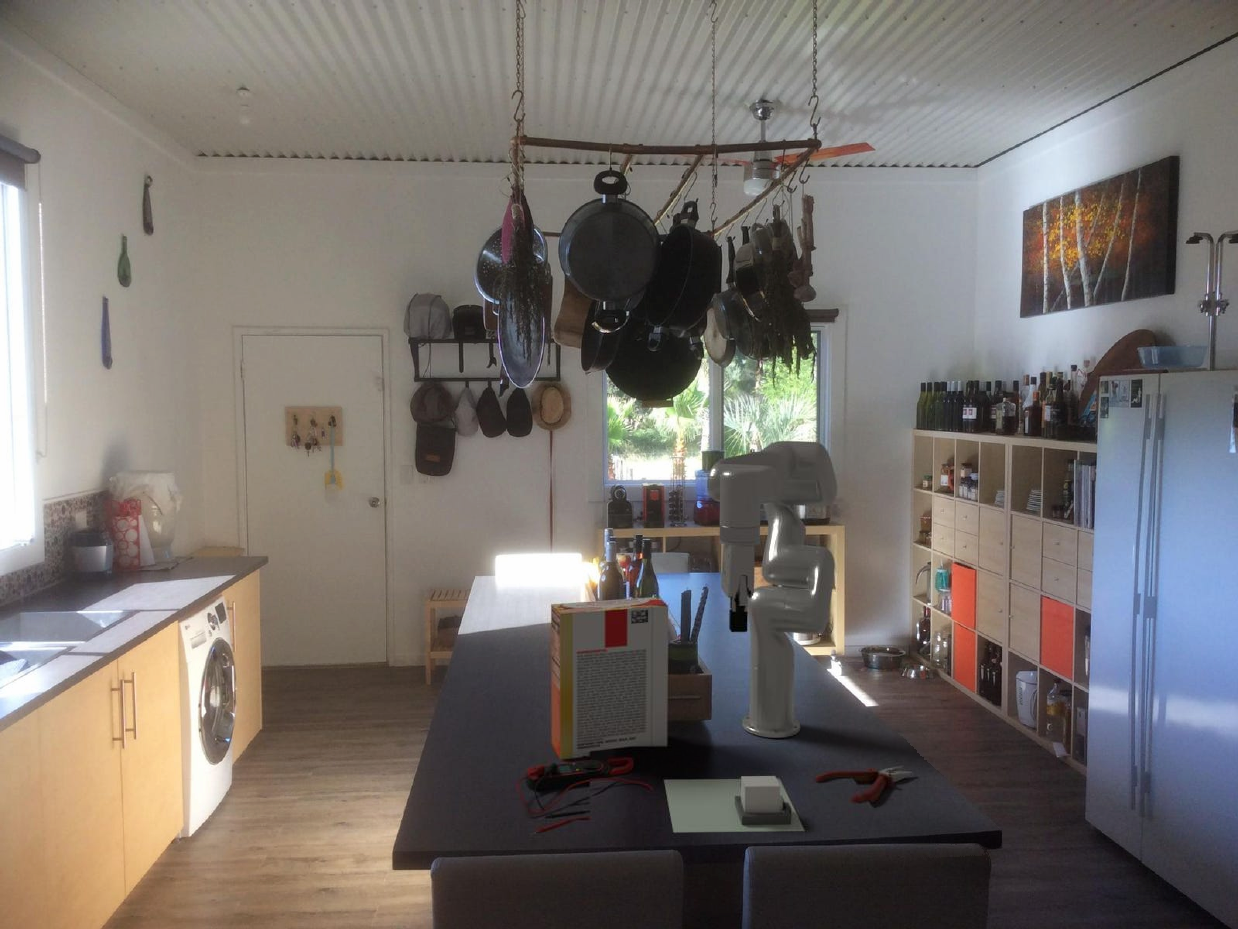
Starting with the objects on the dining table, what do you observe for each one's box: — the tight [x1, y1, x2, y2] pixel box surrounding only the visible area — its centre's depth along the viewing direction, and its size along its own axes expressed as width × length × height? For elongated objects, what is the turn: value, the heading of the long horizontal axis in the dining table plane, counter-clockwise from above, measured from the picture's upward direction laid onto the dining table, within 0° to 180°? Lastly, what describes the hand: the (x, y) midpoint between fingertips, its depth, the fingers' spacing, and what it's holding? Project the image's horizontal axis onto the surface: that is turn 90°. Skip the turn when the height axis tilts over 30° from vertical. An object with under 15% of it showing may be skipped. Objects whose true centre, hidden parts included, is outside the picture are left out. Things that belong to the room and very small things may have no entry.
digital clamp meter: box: [516, 756, 655, 836], centre depth 163 cm, size 23×4×25 cm
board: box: [663, 778, 805, 834], centre depth 158 cm, size 20×22×2 cm
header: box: [735, 796, 791, 825], centre depth 154 cm, size 8×9×2 cm
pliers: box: [814, 765, 916, 805], centre depth 168 cm, size 12×20×3 cm, turn 120°
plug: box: [740, 775, 783, 813], centre depth 154 cm, size 4×7×6 cm, turn 92°
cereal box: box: [550, 596, 669, 761], centre depth 185 cm, size 23×8×30 cm, turn 107°
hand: (738, 630), depth 168 cm, fingers closed
